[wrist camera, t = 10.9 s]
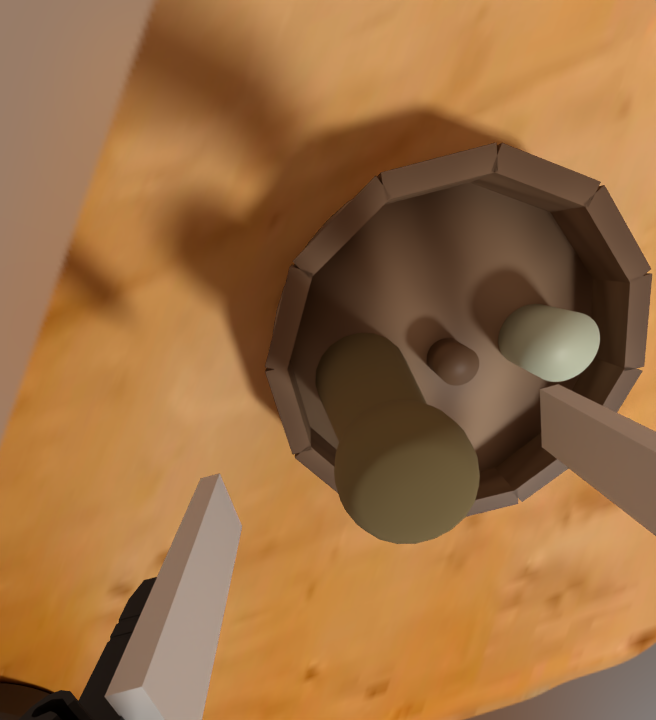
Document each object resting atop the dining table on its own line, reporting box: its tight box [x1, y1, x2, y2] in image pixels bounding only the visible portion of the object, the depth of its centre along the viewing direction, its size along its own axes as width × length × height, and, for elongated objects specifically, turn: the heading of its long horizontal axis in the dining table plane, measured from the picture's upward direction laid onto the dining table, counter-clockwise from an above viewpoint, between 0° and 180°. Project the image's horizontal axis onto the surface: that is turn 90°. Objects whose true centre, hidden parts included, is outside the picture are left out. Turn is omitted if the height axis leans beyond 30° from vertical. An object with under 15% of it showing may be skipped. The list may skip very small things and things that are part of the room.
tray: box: [265, 143, 652, 516], centre depth 20 cm, size 22×22×3 cm
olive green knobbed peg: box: [315, 333, 480, 544], centre depth 16 cm, size 6×6×11 cm
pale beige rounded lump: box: [498, 304, 600, 382], centre depth 19 cm, size 4×4×3 cm
